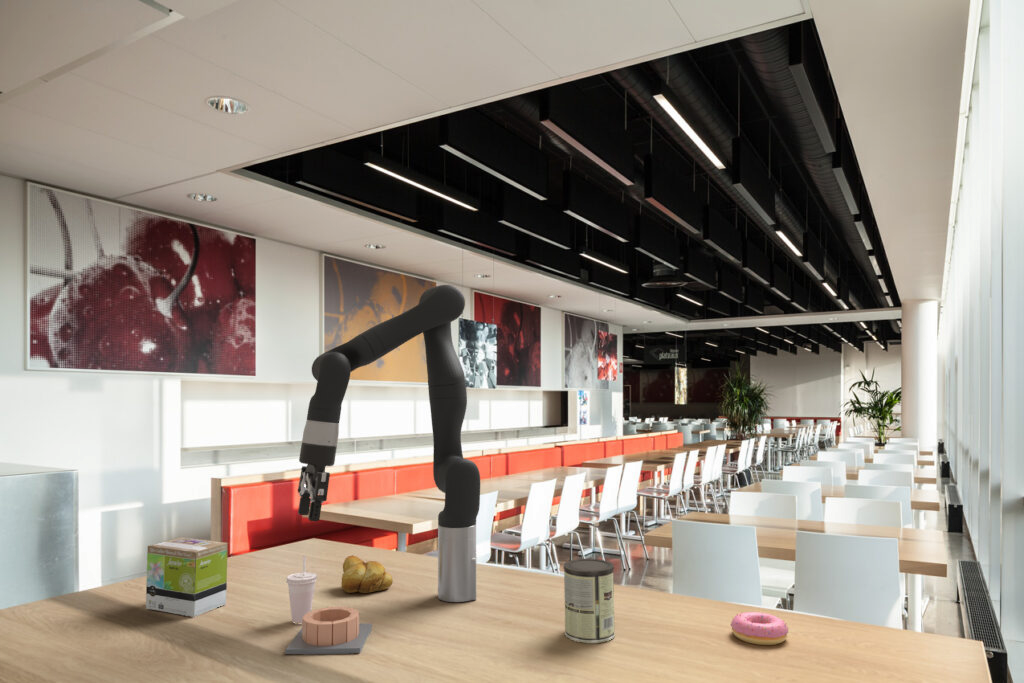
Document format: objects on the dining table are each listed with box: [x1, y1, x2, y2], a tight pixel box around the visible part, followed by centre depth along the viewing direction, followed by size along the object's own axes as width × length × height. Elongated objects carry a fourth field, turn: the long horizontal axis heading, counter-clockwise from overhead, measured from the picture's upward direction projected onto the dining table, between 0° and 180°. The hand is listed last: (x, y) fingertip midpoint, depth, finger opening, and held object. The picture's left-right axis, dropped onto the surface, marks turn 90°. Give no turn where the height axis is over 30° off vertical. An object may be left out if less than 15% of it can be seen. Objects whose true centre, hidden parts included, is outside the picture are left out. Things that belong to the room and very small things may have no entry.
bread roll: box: [340, 554, 394, 594], centre depth 175 cm, size 13×10×8 cm
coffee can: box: [562, 558, 616, 644], centre depth 143 cm, size 10×10×14 cm
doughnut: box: [730, 611, 789, 646], centre depth 141 cm, size 11×11×4 cm
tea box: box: [145, 536, 229, 618], centre depth 162 cm, size 15×10×15 cm
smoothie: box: [285, 555, 318, 623], centre depth 152 cm, size 6×6×14 cm
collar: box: [285, 606, 373, 656], centre depth 140 cm, size 14×14×5 cm
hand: (308, 517), depth 152 cm, fingers open, 8 cm apart
